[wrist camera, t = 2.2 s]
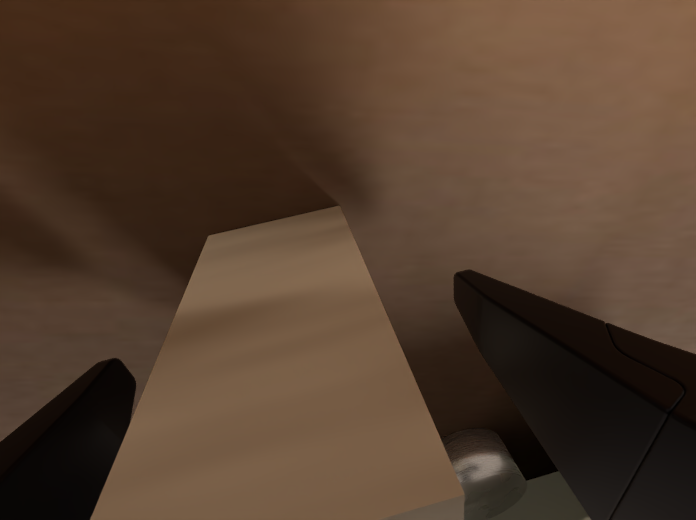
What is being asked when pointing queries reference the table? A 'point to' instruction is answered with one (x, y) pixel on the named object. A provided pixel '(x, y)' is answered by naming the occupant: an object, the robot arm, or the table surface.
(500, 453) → the cylinder
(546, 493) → the pale green stool
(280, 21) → the table surface
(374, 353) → the wooden l-shaped block
